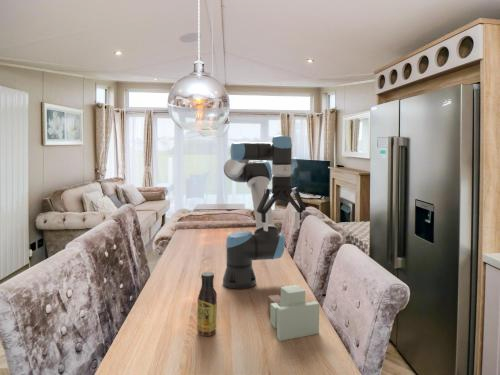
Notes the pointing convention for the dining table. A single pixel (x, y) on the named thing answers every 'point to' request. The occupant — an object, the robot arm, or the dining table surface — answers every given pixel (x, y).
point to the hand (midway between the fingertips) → (281, 229)
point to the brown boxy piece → (274, 300)
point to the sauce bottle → (207, 306)
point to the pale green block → (294, 314)
